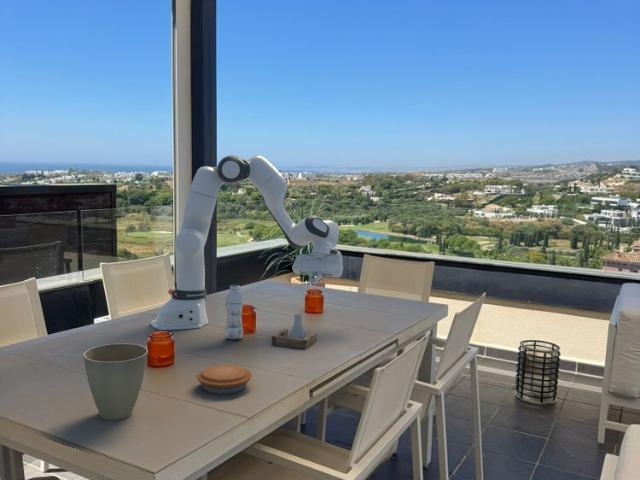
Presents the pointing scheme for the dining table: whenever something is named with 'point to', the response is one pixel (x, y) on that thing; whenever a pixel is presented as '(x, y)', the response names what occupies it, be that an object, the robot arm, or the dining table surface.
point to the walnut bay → (293, 340)
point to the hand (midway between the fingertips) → (312, 282)
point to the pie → (224, 379)
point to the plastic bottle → (234, 313)
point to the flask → (297, 328)
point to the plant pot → (115, 377)
